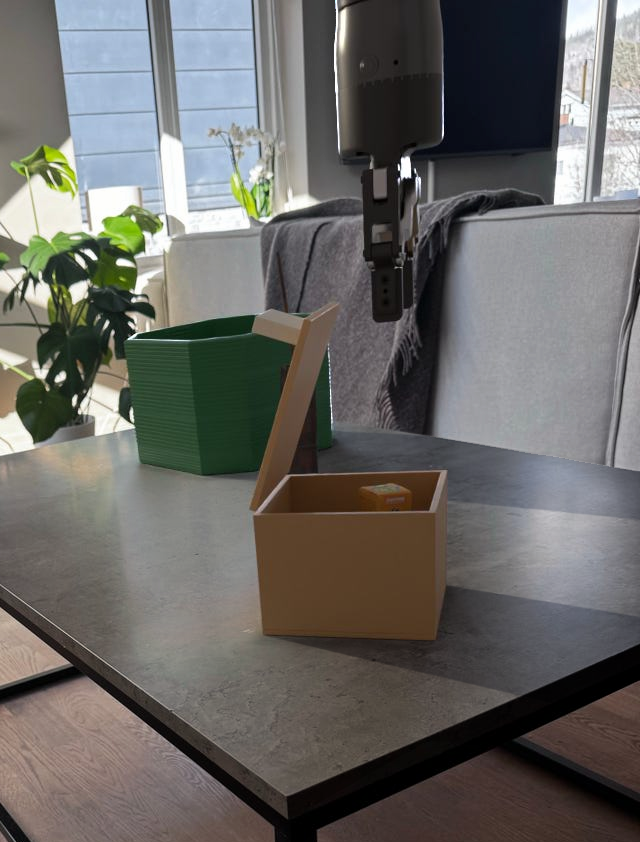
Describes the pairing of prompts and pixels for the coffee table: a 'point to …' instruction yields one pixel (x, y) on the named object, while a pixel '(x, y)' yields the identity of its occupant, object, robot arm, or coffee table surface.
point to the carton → (352, 557)
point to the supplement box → (384, 498)
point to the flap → (292, 387)
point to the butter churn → (307, 444)
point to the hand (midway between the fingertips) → (394, 315)
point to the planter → (212, 394)
